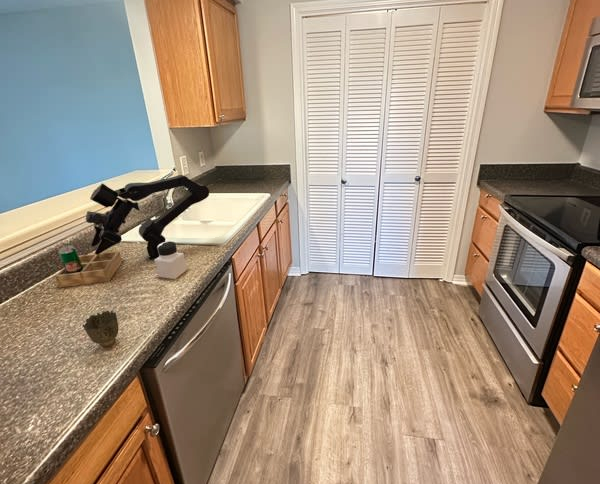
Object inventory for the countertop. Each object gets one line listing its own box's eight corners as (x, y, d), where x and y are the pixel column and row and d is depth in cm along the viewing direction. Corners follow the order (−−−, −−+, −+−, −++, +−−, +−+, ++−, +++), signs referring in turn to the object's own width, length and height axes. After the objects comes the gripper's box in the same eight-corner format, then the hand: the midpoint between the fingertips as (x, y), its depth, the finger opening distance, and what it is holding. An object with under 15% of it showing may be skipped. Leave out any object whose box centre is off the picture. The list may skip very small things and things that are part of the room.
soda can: (68, 283, 113) (56, 252, 108) (70, 277, 117) (58, 247, 113) (85, 279, 115) (74, 248, 111) (86, 273, 120) (75, 243, 115)
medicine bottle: (187, 270, 120) (181, 240, 115) (174, 279, 113) (167, 248, 109) (171, 267, 122) (164, 238, 117) (158, 277, 116) (150, 246, 111)
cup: (100, 335, 87) (91, 311, 84) (128, 332, 88) (120, 308, 85) (86, 355, 81) (76, 329, 77) (116, 352, 81) (107, 327, 78)
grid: (122, 261, 129) (119, 250, 127) (109, 280, 115) (105, 269, 113) (78, 266, 127) (74, 256, 125) (59, 287, 112) (54, 276, 110)
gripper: (92, 197, 120) (67, 232, 119) (100, 208, 106) (73, 248, 105) (121, 212, 128) (98, 245, 126) (132, 224, 114) (107, 262, 112)
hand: (94, 250), depth 117 cm, fingers open, 9 cm apart
